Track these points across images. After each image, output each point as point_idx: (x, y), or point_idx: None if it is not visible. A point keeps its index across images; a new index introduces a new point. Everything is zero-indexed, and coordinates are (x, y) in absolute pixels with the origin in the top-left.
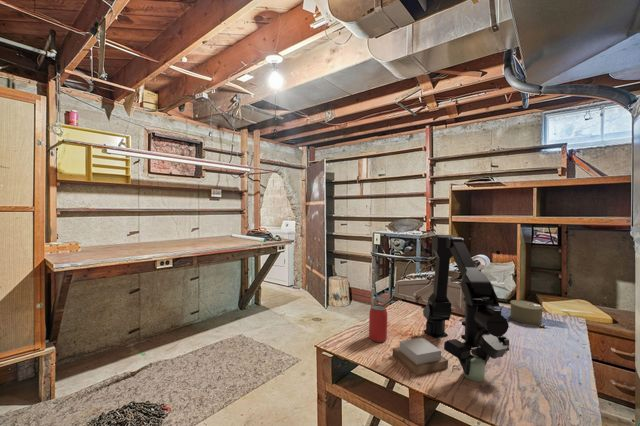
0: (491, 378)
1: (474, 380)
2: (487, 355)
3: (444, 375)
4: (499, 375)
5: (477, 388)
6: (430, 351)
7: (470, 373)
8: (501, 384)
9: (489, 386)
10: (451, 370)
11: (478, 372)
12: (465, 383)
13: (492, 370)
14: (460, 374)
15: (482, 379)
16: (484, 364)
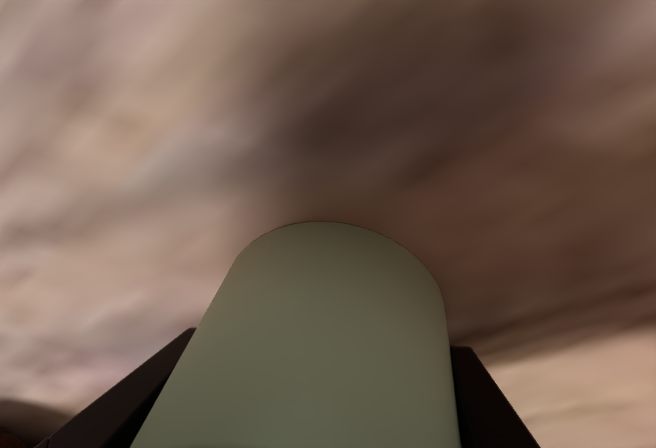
0: (154, 220)
1: (417, 261)
2: None
3: (647, 426)
4: (21, 225)
5: (541, 134)
6: None
7: (448, 354)
8: (107, 86)
9: (316, 109)
10: None
11: (372, 326)
12: (581, 265)
13: (49, 302)
14: None
15: (309, 235)
16: (189, 422)
